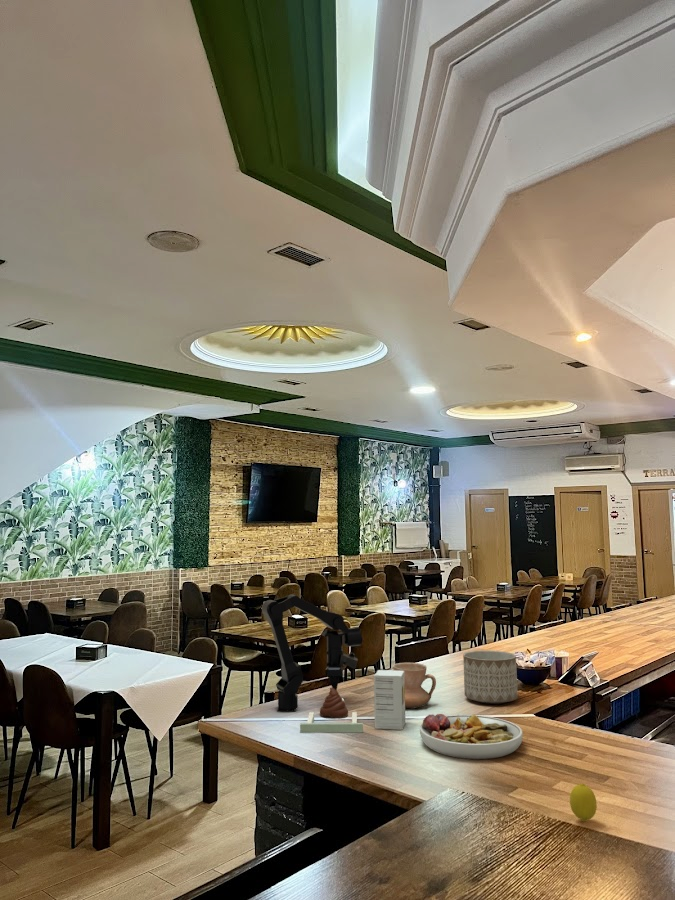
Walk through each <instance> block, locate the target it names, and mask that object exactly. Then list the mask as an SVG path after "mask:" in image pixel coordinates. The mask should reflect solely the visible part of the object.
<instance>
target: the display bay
mask: <svg viewBox="0 0 675 900" xmlns="http://www.w3.org/2000/svg"><path fill="white" fill-rule="evenodd" d="M357 713H358V712H357V711H352V712H351V715H352V716H351V722H315V712H314V711H309V714H308V716H307V721H306V722H300V724H299V729H300V730H299V732H300V734H301V733H303V734H304V733H305V734H306V733H310V734H311V733H323V734H324V733H331V734H332V733H335V734H336V733H364V722H358V719H357V718H358V714H357Z"/></svg>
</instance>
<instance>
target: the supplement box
mask: <svg viewBox="0 0 675 900" xmlns="http://www.w3.org/2000/svg"><path fill="white" fill-rule="evenodd" d="M373 693H374V694H373V696H374V699H373V700H374V707H373V708H374V709H373V710H374V729H375V730H376V729H378V730H397V731H398V730H399V731H403V729H404V727H405V724H406V708H405V679H404V671H396V670H391V669H389V670H388V669H386V670H385V669H378V670H376V673H375V674H374V675H373Z"/></svg>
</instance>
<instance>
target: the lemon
mask: <svg viewBox="0 0 675 900" xmlns="http://www.w3.org/2000/svg"><path fill="white" fill-rule="evenodd" d="M569 795H570V796H569V805H570V809H571V811H572V813H573V814H574V816H575V817H577V819H579V820H581V821H582V822H584V823H586V822H587V821H588V820H591V819H592V818H594V816H595V815H596V813H597V805H598V804H597V799H596V795H595V793H594V791H593V789H592V788H590V787H589V786H587V785H586V784H585V783H583V782H582V783H580V784H577V785H575V786H574V787H573V788H572V789H571V791H570V794H569Z"/></svg>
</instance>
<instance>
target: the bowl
mask: <svg viewBox="0 0 675 900" xmlns="http://www.w3.org/2000/svg"><path fill="white" fill-rule="evenodd" d="M419 734H420V738H421V741H422V742H423V743H424V744H425V746H427V748H429V749H430V750H433V751H434V752H435V753H438V754H442V755H444V756H447V757H453V758H458V759H465V760H466V759H467V760H486V759H487V760H488V759H489V760H490V759H496V758H500V757H504V756H508V755H510V754H512V753H514V752H516V750H518V748H519V747H520V746H521V744H522V742H523V729H522V728H521V727H520V726H519V725H517V724H516V723H513V722H511V721H508V720H505V719H502V718H498V717H492V716H485V715H476V714H455V715H454V714H453V715H452V714H451V715H446V714H443V713H437V714H428V715H427V716H425V717H424V718H423V719H422V723H421V724H420V725H419Z"/></svg>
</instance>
